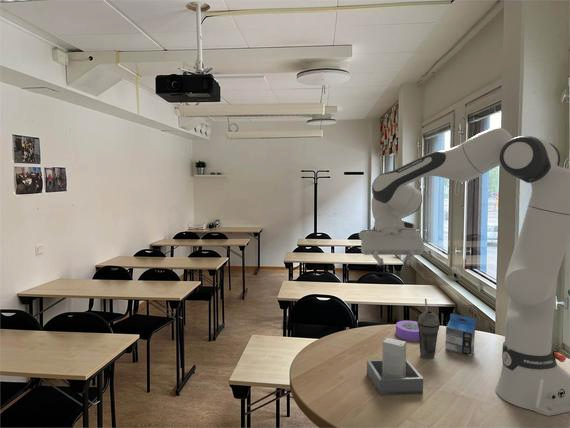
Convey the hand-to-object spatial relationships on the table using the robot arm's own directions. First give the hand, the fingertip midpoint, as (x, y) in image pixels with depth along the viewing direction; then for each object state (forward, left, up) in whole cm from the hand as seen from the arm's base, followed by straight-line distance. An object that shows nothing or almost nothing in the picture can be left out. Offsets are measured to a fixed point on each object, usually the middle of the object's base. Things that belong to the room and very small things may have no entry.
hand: (395, 264), depth 129 cm
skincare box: (+4, +11, -33) cm, 35 cm away
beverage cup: (-14, -6, -34) cm, 37 cm away
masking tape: (-16, -25, -34) cm, 45 cm away
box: (+4, +11, -33) cm, 35 cm away
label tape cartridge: (-27, -9, -34) cm, 44 cm away
